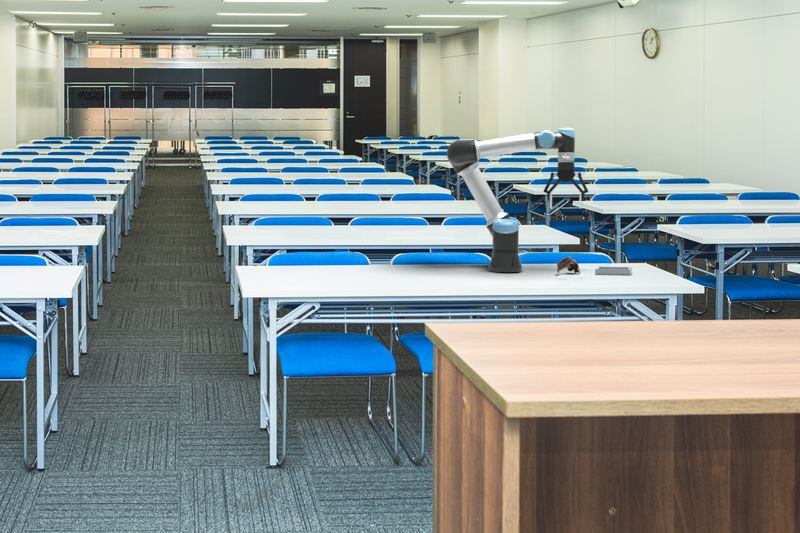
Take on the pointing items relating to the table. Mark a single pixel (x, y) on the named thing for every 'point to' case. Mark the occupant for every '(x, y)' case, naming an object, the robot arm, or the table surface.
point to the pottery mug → (568, 265)
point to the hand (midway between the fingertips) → (565, 208)
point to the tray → (613, 271)
